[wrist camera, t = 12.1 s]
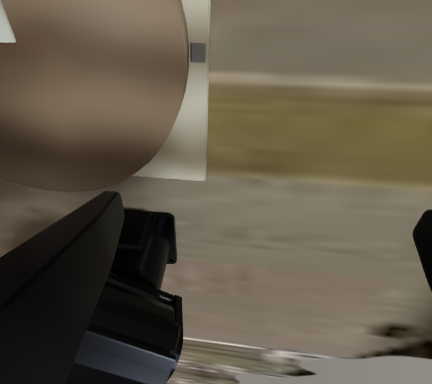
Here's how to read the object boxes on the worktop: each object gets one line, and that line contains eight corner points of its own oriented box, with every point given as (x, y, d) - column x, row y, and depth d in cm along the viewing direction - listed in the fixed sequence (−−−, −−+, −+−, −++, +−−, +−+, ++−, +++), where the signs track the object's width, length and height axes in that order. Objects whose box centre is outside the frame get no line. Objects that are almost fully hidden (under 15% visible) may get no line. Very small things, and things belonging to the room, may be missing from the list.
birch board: (206, 170, 24) (204, 181, 22) (-51, 153, 24) (-67, 163, 23) (217, -263, 11) (214, -292, 10) (-304, -282, 12) (-369, -312, 11)
